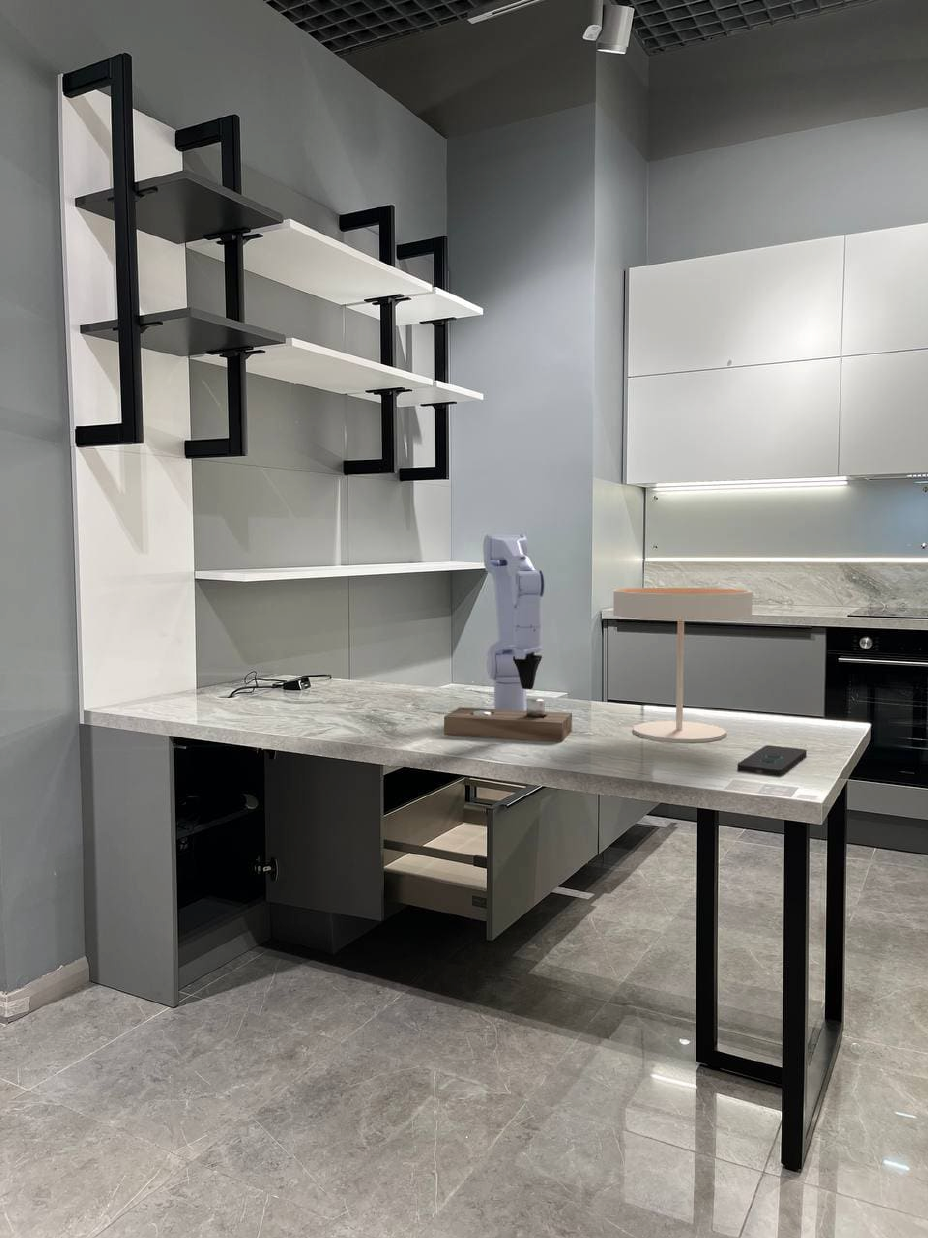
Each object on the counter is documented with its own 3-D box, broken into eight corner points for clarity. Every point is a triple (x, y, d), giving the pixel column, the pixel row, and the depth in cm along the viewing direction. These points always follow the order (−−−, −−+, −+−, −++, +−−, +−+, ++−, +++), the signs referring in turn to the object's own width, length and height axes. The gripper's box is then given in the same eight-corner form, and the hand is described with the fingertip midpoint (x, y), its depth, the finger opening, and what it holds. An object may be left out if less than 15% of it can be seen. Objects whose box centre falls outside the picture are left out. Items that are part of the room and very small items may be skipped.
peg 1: (476, 727, 211) (476, 710, 211) (493, 728, 210) (493, 711, 209) (471, 731, 207) (471, 713, 207) (488, 732, 206) (488, 714, 206)
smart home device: (735, 763, 172) (765, 744, 189) (735, 773, 172) (765, 752, 189) (781, 769, 167) (808, 748, 184) (781, 779, 168) (808, 757, 184)
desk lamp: (753, 725, 215) (756, 588, 213) (745, 751, 187) (748, 595, 185) (623, 717, 225) (625, 586, 223) (598, 741, 197) (599, 592, 195)
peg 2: (528, 715, 207) (528, 697, 207) (546, 716, 206) (546, 698, 206) (524, 719, 203) (524, 700, 203) (542, 719, 202) (542, 701, 202)
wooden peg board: (459, 724, 216) (459, 707, 216) (571, 730, 209) (572, 712, 209) (444, 734, 205) (444, 716, 204) (562, 741, 197) (562, 722, 197)
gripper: (517, 623, 212) (517, 683, 213) (501, 628, 198) (501, 692, 199) (548, 624, 210) (548, 684, 211) (533, 629, 196) (533, 694, 197)
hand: (527, 688), depth 205 cm, fingers closed
